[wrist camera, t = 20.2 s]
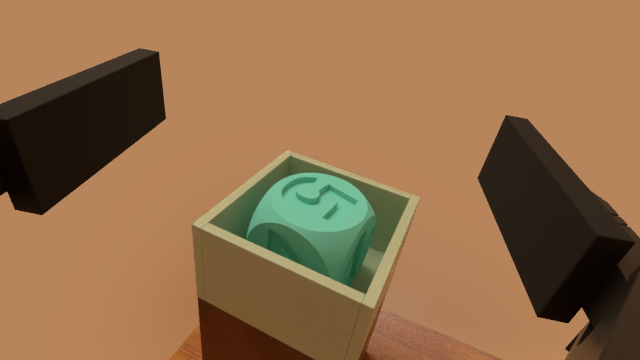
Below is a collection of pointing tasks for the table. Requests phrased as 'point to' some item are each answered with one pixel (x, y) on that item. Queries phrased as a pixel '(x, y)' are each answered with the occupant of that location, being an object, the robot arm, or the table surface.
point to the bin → (298, 267)
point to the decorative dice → (316, 224)
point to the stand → (246, 338)
